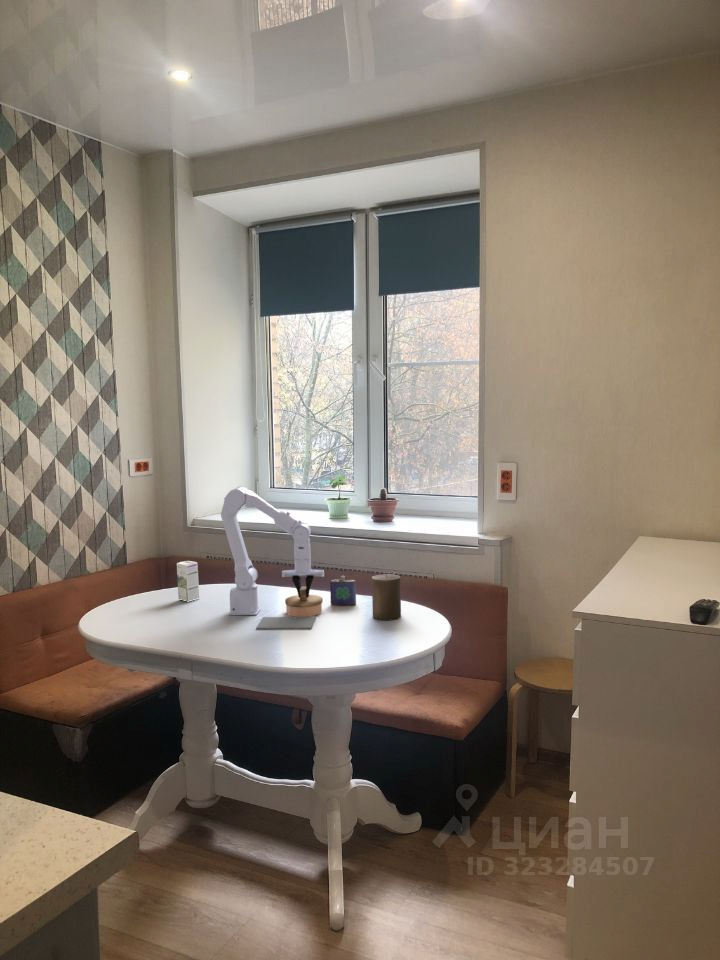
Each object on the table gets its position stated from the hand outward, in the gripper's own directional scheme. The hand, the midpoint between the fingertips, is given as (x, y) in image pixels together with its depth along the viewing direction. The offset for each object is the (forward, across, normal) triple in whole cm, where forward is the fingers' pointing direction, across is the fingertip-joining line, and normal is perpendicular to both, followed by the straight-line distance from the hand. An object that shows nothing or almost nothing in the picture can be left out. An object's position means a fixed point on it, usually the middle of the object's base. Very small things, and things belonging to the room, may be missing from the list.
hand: (303, 596), depth 254 cm
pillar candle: (+6, +29, -6) cm, 30 cm away
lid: (+2, 0, 0) cm, 2 cm away
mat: (+5, -4, -14) cm, 16 cm away
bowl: (+5, 0, 0) cm, 5 cm away
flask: (+6, +13, +9) cm, 17 cm away
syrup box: (+6, -46, +17) cm, 49 cm away
